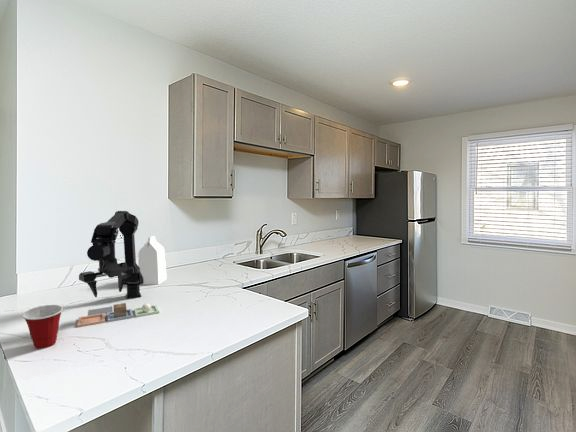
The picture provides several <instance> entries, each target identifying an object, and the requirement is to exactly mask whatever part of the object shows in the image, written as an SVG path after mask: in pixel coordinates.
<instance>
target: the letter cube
mask: <svg viewBox="0 0 576 432" xmlns="http://www.w3.org/2000/svg"><path fill="white" fill-rule="evenodd" d="M112 309H113V312H114V318H119V317H125V316H127V313H126V310H127V304H126V302H124V303H123V302H121V303H116V304H113V305H112Z"/></svg>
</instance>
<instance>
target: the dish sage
mask: <svg viewBox="0 0 576 432" xmlns="http://www.w3.org/2000/svg"><path fill="white" fill-rule="evenodd" d="M150 306H151V309H150V310H149V311H148V312H144V311H143V310H142V306H141V307H134V308H133V311H134V315H135V318H141V317H146V316H150V315H157V314H160V310H159V308H158V306H157V304H154V305H150Z"/></svg>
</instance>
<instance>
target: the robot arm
mask: <svg viewBox="0 0 576 432" xmlns="http://www.w3.org/2000/svg"><path fill="white" fill-rule="evenodd" d="M138 226H139V219H138V217H137V216H136V215H135V214H132V213H130V212H129V211H128V210H117V211H115V213H114V215H112V216H111V218H109V219H108V220H107V221H106V222H101V223H99V224H97V225H96V227H94V230H93V233H92V237H91V240H90V243H91V244H92V245H91V246H90V247H89V248H88V249H87V250H86V256H87V258H88V259H89V260H91V261H95V262H98V268H97V271H98V272H93V271H85V272H80V273H79V275H78V280H79V281H80V282H83V283H86V284H87V285H88V286H89V289H90V290H91V293H92V294H93V296H94V298H97V297H98V289H97V283H98V280H96V279H97V278H101V277H107V276H108V278H115V277H117V287H118V292H119V293H121V292H122V291H123V287H124V286H126V294H125V298H126V299H134V298H139V297H140V298H141V297H142V295H141V292H140V286H141V285H144V284H143V283H144V280H143V279H144V278H143V276H142V274H141V272H140V268H139V266H138V264H137V256H136V243H135V242H136V240H135V234H136V232H137V230H138ZM119 232H120V233H121V235H122V236H123V237H122V238H123V247H124V248H123V251H124V262H119V263H118V259H117V258H116V245H115V244H116V240H117V238H118V235H119Z"/></svg>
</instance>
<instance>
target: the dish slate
mask: <svg viewBox="0 0 576 432" xmlns="http://www.w3.org/2000/svg"><path fill="white" fill-rule="evenodd" d="M132 310H133V309H132V308H128V309H127V308H126V313H127V316H125V317H119V318H114V311H113V312H109V313H107V314H106V315H107V323H111V322H117V321H122V320H128V319H129V320H130V319H134V314H133V311H132Z"/></svg>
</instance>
